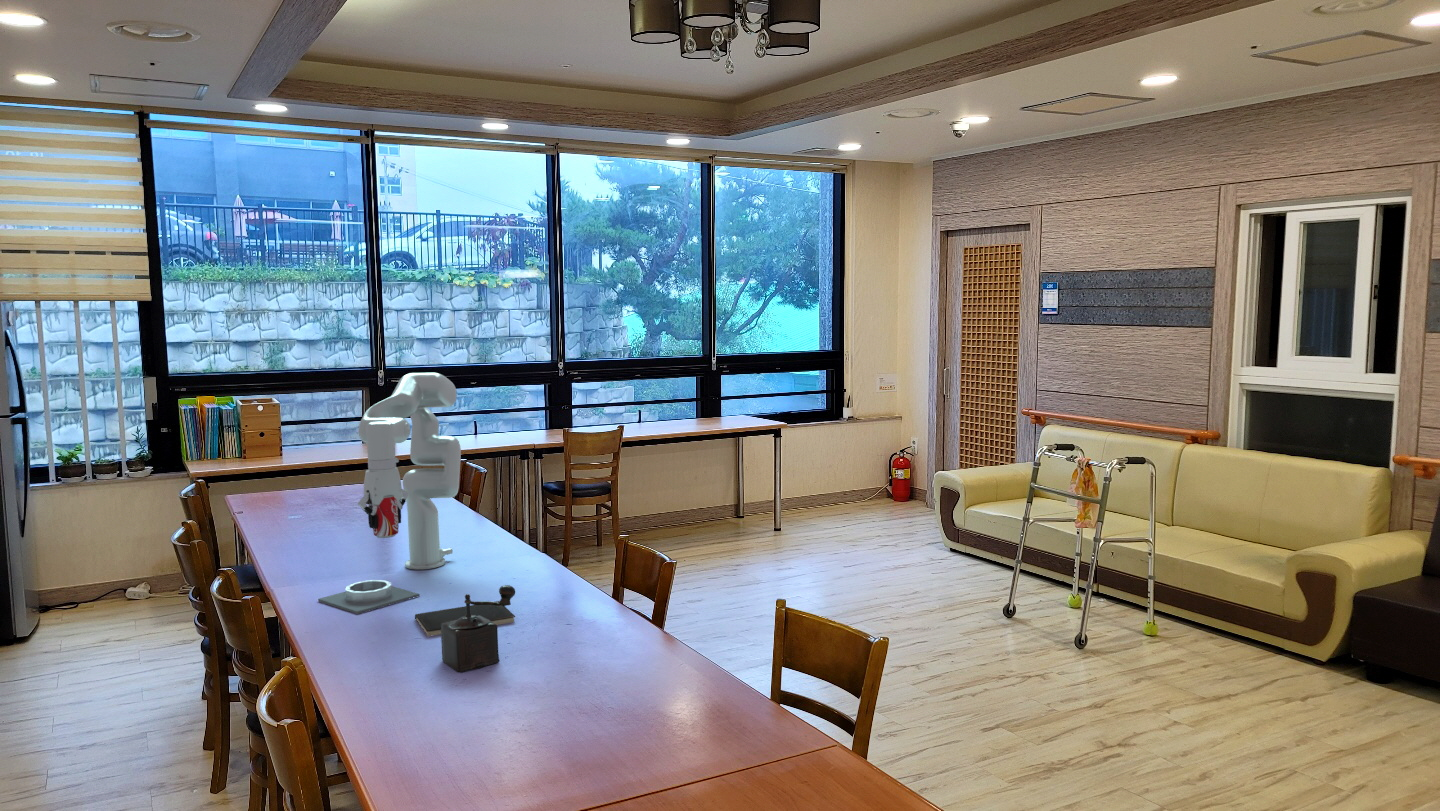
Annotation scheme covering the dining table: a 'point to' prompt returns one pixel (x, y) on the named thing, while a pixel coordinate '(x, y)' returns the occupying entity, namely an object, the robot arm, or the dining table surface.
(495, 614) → the hardcover book
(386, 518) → the soda can
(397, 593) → the mat
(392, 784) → the dining table surface
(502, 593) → the manual coffee grinder
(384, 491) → the robot arm
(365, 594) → the ring collar
